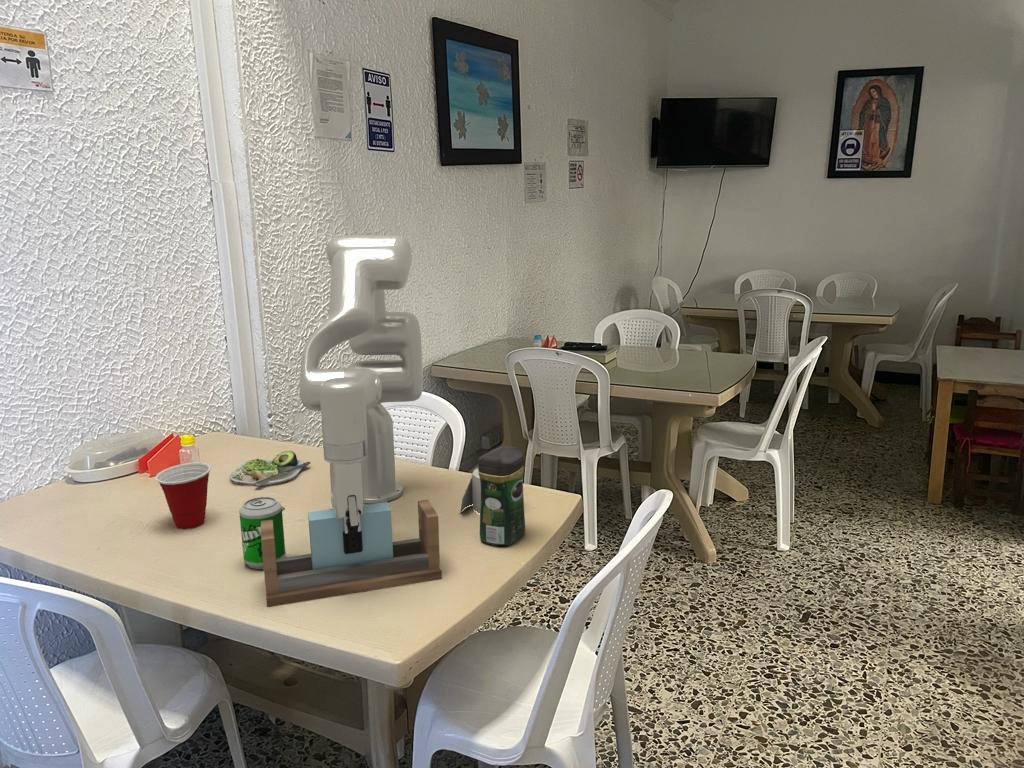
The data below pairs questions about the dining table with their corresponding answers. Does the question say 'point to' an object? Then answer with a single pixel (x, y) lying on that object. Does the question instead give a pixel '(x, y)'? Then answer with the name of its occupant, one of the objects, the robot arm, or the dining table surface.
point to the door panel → (330, 537)
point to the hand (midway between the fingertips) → (351, 545)
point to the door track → (352, 566)
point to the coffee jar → (501, 495)
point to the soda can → (251, 529)
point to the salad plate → (270, 469)
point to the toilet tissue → (473, 493)
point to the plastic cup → (186, 492)
